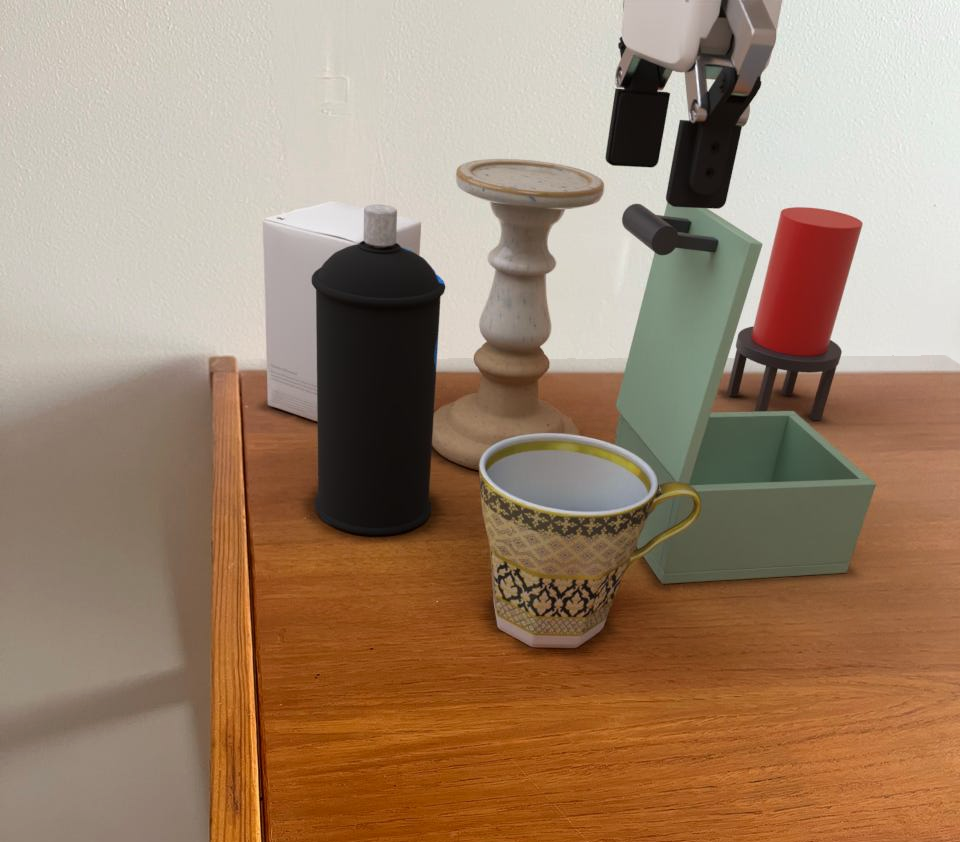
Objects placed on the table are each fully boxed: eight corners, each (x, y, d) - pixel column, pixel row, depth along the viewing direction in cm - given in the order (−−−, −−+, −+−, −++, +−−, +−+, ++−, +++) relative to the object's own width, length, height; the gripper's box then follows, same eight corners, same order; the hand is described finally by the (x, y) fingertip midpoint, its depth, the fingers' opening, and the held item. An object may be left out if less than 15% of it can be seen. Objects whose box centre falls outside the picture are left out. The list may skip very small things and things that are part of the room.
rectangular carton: (354, 437, 82) (356, 241, 73) (265, 407, 85) (257, 216, 76) (416, 402, 88) (425, 219, 80) (331, 376, 92) (331, 197, 83)
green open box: (770, 493, 80) (793, 410, 76) (846, 573, 70) (876, 483, 67) (604, 500, 76) (619, 413, 72) (661, 584, 67) (681, 491, 63)
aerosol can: (369, 550, 68) (376, 234, 56) (289, 503, 72) (281, 200, 61) (455, 512, 73) (478, 215, 61) (376, 470, 77) (383, 186, 66)
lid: (681, 191, 64) (608, 181, 63) (763, 243, 55) (680, 233, 54) (625, 408, 72) (559, 403, 71) (689, 484, 63) (615, 481, 62)
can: (805, 329, 94) (837, 208, 88) (841, 356, 89) (878, 228, 83) (738, 329, 92) (767, 205, 86) (771, 356, 87) (804, 227, 81)
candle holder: (571, 487, 78) (613, 205, 66) (411, 463, 79) (425, 181, 67) (585, 423, 88) (624, 168, 76) (443, 402, 89) (460, 148, 77)
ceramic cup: (472, 666, 58) (487, 510, 53) (460, 573, 66) (472, 428, 61) (694, 670, 60) (732, 518, 54) (656, 578, 68) (686, 437, 62)
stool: (794, 387, 99) (811, 325, 95) (841, 426, 92) (861, 361, 88) (707, 388, 97) (721, 325, 93) (749, 428, 90) (765, 361, 86)
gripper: (902, -209, 42) (791, 228, 52) (727, -188, 56) (666, 155, 66) (734, -234, 40) (653, 223, 50) (595, -206, 54) (553, 149, 64)
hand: (660, 184), depth 58 cm, fingers open, 9 cm apart
